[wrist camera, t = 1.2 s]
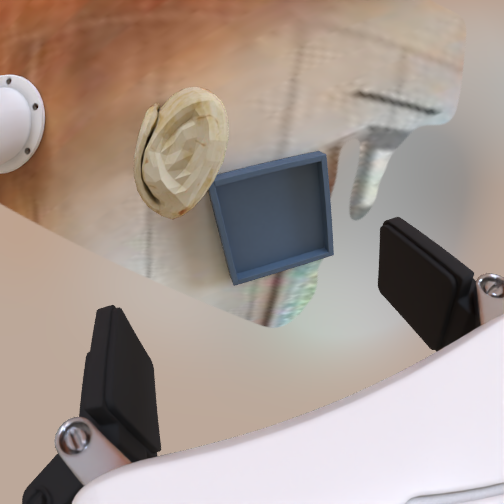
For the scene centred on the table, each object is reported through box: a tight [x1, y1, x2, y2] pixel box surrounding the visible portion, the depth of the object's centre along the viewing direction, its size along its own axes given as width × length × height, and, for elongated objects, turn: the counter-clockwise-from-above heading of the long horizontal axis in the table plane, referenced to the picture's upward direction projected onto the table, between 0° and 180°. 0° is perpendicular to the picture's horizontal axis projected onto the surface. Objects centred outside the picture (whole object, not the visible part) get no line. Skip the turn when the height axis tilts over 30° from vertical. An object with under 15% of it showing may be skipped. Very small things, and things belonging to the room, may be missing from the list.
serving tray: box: [208, 151, 334, 286], centre depth 44 cm, size 16×16×2 cm
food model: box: [134, 87, 228, 219], centre depth 27 cm, size 10×7×20 cm
